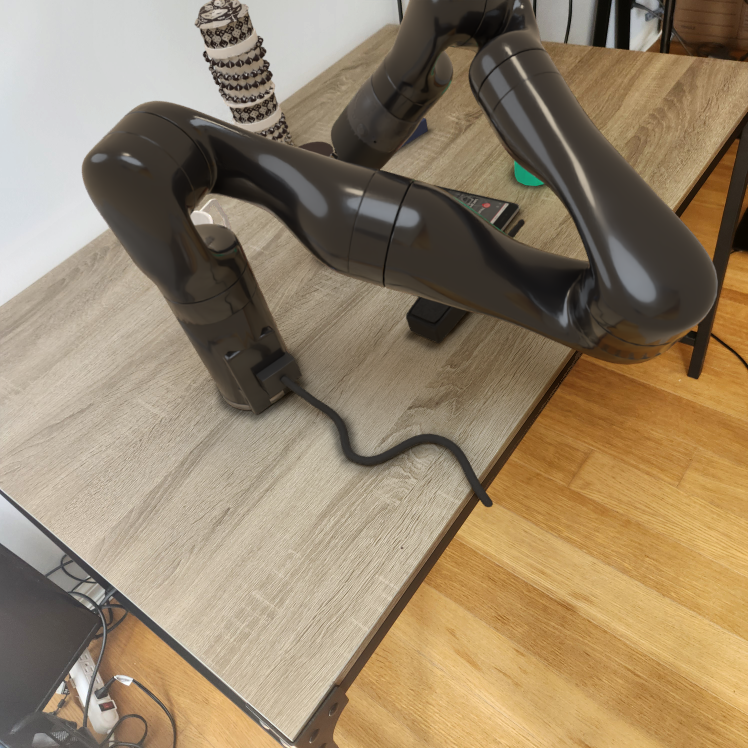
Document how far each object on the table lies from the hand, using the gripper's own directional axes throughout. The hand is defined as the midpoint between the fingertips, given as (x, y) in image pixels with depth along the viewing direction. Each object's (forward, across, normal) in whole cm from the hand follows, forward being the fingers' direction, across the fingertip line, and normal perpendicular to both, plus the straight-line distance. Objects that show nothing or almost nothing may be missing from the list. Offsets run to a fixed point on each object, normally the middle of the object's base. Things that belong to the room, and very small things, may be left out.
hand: (313, 202), depth 86 cm
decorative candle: (+20, +20, +8) cm, 30 cm away
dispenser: (+7, +29, -4) cm, 30 cm away
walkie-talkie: (-10, -5, -21) cm, 24 cm away
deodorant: (+4, 0, -7) cm, 8 cm away
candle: (-12, +20, -23) cm, 33 cm away
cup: (+15, -8, +4) cm, 18 cm away
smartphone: (-6, +10, -17) cm, 21 cm away
